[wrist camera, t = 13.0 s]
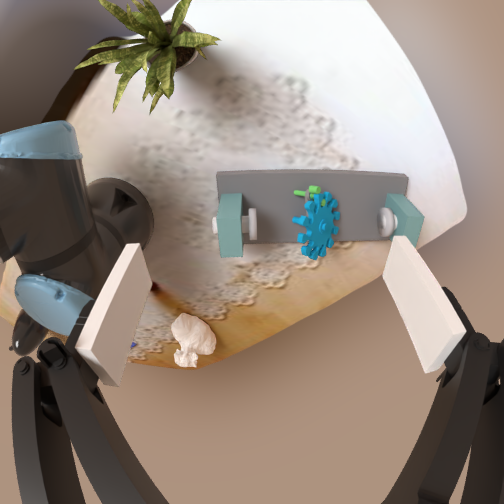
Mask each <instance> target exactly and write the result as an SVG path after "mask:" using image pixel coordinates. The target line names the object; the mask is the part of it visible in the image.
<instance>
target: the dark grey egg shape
mask: <svg viewBox="0 0 504 504" xmlns="http://www.w3.org/2000/svg"><path fill="white" fill-rule="evenodd" d="M47 334H48V328H46V327H44V326H43V325H41V324H40V323H38V322H37V321H35V320H34V319H33V318H32V317H31V316H29V315H28V314H27V313H26V312H25V310H24V309H22V310H21V311H20V313H19V315H18V317H17V320H16V322H15V326H14V330H13V336H12V346H11V347H9V350H10V351H12V350H14V351H15V352H16V354H18V355H19V356H27V355H28V354H30V353H31V352H33V351H34V350H35V349H36V348H37V347H38V346H39V345H40V344H41V342H42V341H43V340H44V338H45V337H46V335H47Z"/></svg>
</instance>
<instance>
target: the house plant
mask: <svg viewBox="0 0 504 504" xmlns="http://www.w3.org/2000/svg"><path fill="white" fill-rule="evenodd" d="M98 1H99V2H100V3H101V4H102V5H103V6H104V7H105V9H107V10H108V11H109V12H110V13H111V14H112V15H114V16H115V17H116V18H117V19H118V20H119V21H120V22H122V23H123V24H124V25H125V26H126V28H128V29H129V30H131V31H134V32H136V33H138V34H140V35H142V36H144V38H143V39H131V40H115V41H106V42H103V43H100V44H98V45H95V46H93V47H90V48H89V49H88V50H90V49H95V48H100V47H106V46H113V45H125V44H135V43H141V44H139V45H135V46H131V47H127V48H122V49H116V50H111V51H106V52H103V53H99V54H97V55H95V56H93V57H92V58H90V59H88V60H87V61H85V62H83V63H81V64H79V65H78V66H77V67H76V68H75V69H78V68H81V67H84V66H87V65H90V64H93V63H96V62H100V61H103V60H105V61H103V62H102V63H100V64H98V65H101V64H108V63H114V62H120V61H121V62H120V63H118V65H117V66H116V69H115V74H122V73H123V75H122V76H121V78H120V80H119V83H118V87H117V92H116V96H115V100H114V104H113V112H114V111H115V109H116V107H117V105H118V103H119V101H120V99H121V96H122V94H123V92H124V90H125V88H126V86H127V84H128V82H129V80H130V79H131V78H132V76H133V75H134V74H135V73H136V72H137V71H139V70H140V69H141V68H143V70H144V71H146V72H147V67H148V68H149V71H148V74H147V77H146V88H145V92H144V95H143V101H144V100H145V98H146V96H147V95H148V93H150V95H151V97H153V95H154V94H155V93H156V94H155V96H154V99H153V101H152V105H151V109H150V113H151V112H152V110H153V109H154V108H155V106H156V104H157V102H158V100H159V98H160V97H161V96H162V95H163V94H164V95H165V96H166V97H167V98H168V99H169V98H170V96H171V95H172V94H173V91H174V80H173V76H174V73H175V72H177V71H179V70H181V69H183V68H184V67H186V66H187V65H189V64H190V63H191V62H193V61H194V60H195V59H196V57H197V56H198V53H199V54H200V55H201V56H203V57H204V58H205V59H206V57H205V55H204V54H203V52H202V51H201V48H200V47H205V46H209V45H218V44H216V43H215V42H214V41H217V40H220V39H219V38H217V37H214V36H211V35H208V34H203V33H196V31H195V29H194V28H193V27H192V26H191V25H190V24H188V23H186V22H184V21H183V20H184V18H185V16H186V13H187V10H188V7H189V5H190V2H191V1H192V0H181V1H180V2H179V3H178V4H177V6H176V8H175V10H174V13H173V17H172V20H167V21H163V20H162V19H161V17H160V15H159V12H158V10H157V9H156V7H155V6H154V5H153V4H152V3H151V2H150V1H149V0H143V1H144V5H145V7H146V8H147V9H146V8H145V7H144V6H143V5H142V4H141V3H139V2H138V1H136V0H132V2H133V3H134V4H135V5H136V6H137V8H138V10H139V11H140V12H141V13H139V12H131V9H130V7H129V5H128V4H127V13H126V12H125V11H124V10H122V9H121V8H120V7H119V6H117V5H115V4H113V3H110V2H108V1H106V0H98ZM107 59H108V60H107ZM206 60H207V59H206ZM160 82H161V84H160ZM159 84H160V86H159Z"/></svg>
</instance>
